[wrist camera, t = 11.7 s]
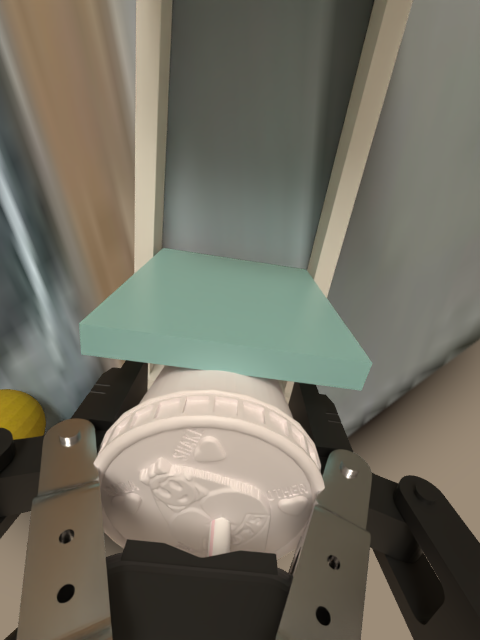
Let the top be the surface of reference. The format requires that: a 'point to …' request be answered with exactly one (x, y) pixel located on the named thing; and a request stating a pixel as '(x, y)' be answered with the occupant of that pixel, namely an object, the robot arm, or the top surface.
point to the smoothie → (209, 466)
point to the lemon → (21, 414)
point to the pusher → (226, 321)
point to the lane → (349, 158)
